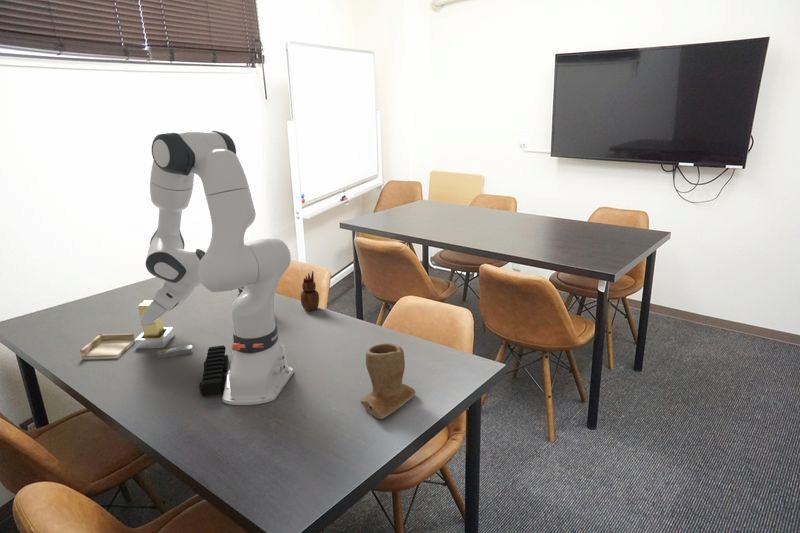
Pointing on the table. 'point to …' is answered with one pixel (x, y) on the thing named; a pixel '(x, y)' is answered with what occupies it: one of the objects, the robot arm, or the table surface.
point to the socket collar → (155, 339)
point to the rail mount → (214, 371)
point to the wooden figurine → (309, 294)
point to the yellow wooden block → (154, 329)
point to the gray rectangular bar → (174, 351)
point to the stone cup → (386, 380)
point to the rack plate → (108, 346)
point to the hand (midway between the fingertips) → (149, 319)
